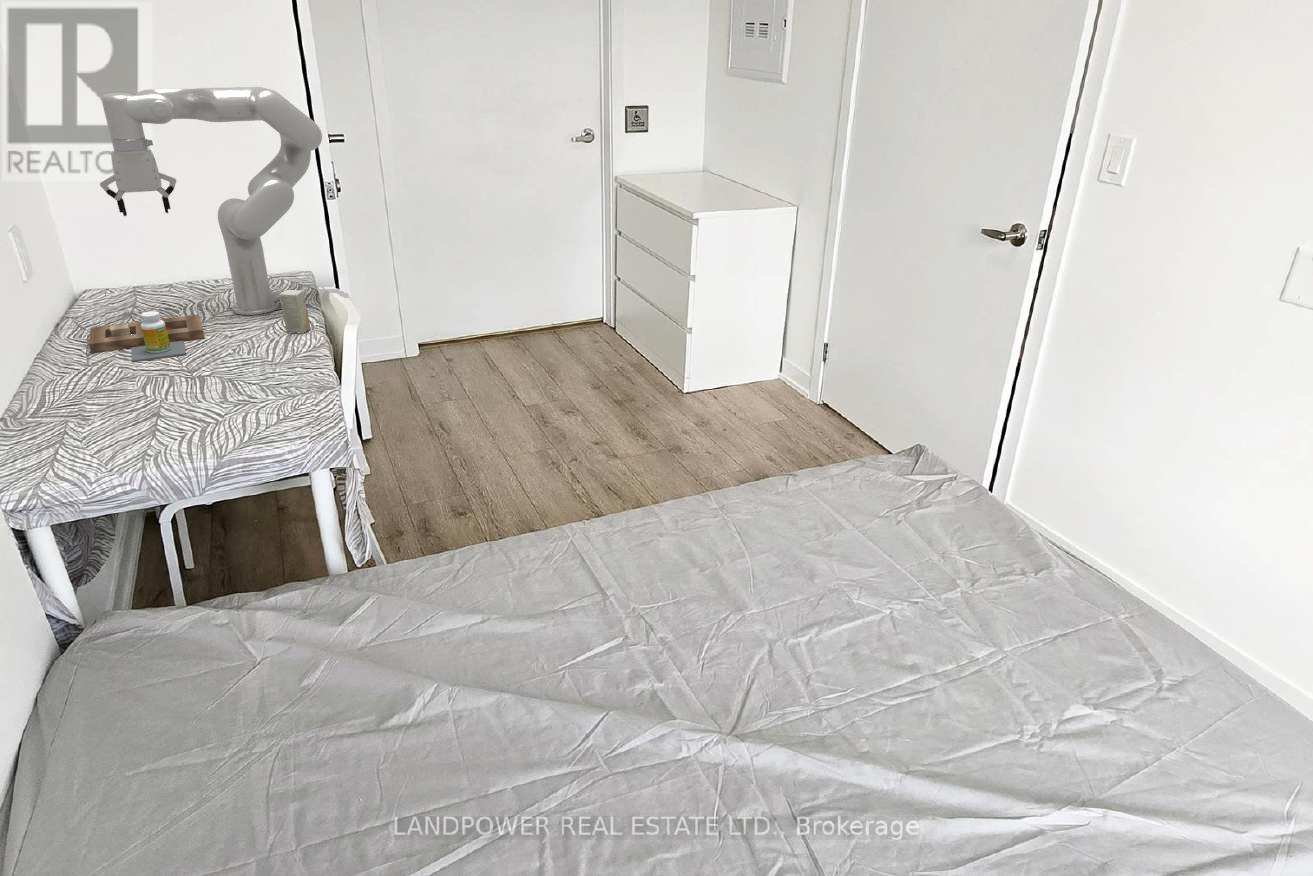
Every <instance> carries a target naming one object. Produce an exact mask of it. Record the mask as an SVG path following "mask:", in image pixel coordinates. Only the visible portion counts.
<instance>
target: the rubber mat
mask: <svg viewBox="0 0 1313 876" xmlns="http://www.w3.org/2000/svg"><path fill="white" fill-rule="evenodd" d="M170 347H171V348H170V349H169V350H168V351H166V352H162V353H149V352H148V351H147V349H146V346H139V347H132V348H131V362H132V363H138V362H143V361H144V362H145V361H150V360H151V361H152V360H159V359H167V358H173V357H179V356H180V357H181V356H187V352H186V351H187V350H186V345H185V341H178V342H170Z"/></svg>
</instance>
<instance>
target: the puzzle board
mask: <svg viewBox="0 0 1313 876" xmlns="http://www.w3.org/2000/svg"><path fill="white" fill-rule="evenodd" d="M160 320H163V321H164V323H165V326H166V330H167V334H168V338H169V342H178V341H184V342H190V341H196V340H205V339H206V336H205V333H204V329H203V324H202V321H201V316H200V314H192V315H184V316H183V315H182V316H175V317H169V318H168V317H167V318H160ZM142 322H144V321H143V320H141V321H135V322H134V321H133V322H126V323H125V322H124V323H123V324H128V325H129V329H130V333H131V334H132V335H124V336H116V337H112V334H111V331H110V327H111V325H112V324H109V325H108V324H107V325H100V326H92V327H90V328H89V338H88V347H89V350H90V351H89V352H90V354H97V353H106V352H114V351H120V350H119V349H121V350H126V349H125V348H129V349H132V347H139V346H146V345H145V341H144V337H143V333H142V329H141V323H142ZM120 324H121V323H118V324H114V325H120Z"/></svg>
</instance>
